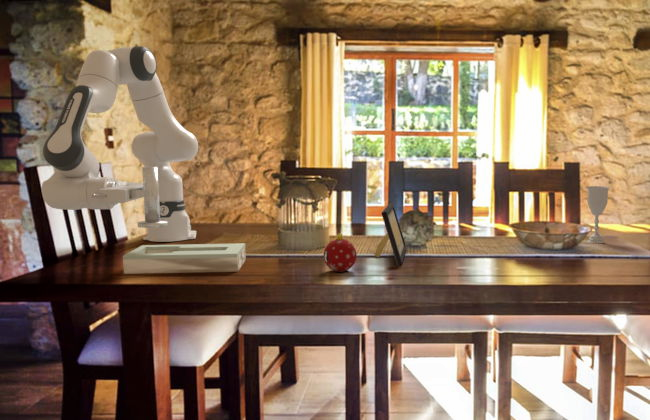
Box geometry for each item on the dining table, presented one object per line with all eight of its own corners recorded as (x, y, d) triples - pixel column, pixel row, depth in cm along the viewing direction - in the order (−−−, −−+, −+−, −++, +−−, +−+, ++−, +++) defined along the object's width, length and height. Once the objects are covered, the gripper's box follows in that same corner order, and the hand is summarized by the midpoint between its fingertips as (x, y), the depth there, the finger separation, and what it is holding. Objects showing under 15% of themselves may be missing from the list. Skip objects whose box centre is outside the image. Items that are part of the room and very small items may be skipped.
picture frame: (402, 265, 150) (395, 210, 149) (369, 268, 152) (362, 214, 151) (406, 249, 173) (401, 202, 172) (378, 252, 175) (372, 205, 174)
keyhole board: (143, 261, 162) (142, 245, 161) (245, 259, 162) (245, 243, 162) (123, 273, 146) (122, 255, 146) (237, 271, 146) (237, 253, 146)
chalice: (612, 243, 177) (614, 187, 175) (590, 244, 178) (592, 188, 176) (601, 239, 185) (603, 186, 183) (580, 240, 185) (582, 186, 183)
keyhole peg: (143, 223, 157) (140, 166, 155) (171, 223, 157) (168, 166, 155) (133, 227, 149) (130, 168, 147) (163, 227, 149) (160, 167, 147)
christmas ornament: (362, 272, 143) (362, 234, 142) (333, 276, 139) (332, 237, 138) (346, 266, 150) (346, 230, 149) (318, 270, 147) (317, 232, 145)
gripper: (87, 184, 141) (141, 183, 141) (116, 179, 161) (164, 178, 161) (88, 209, 142) (143, 208, 142) (118, 201, 162) (165, 200, 162)
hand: (154, 192), depth 152 cm, fingers closed on keyhole peg, 4 cm apart
